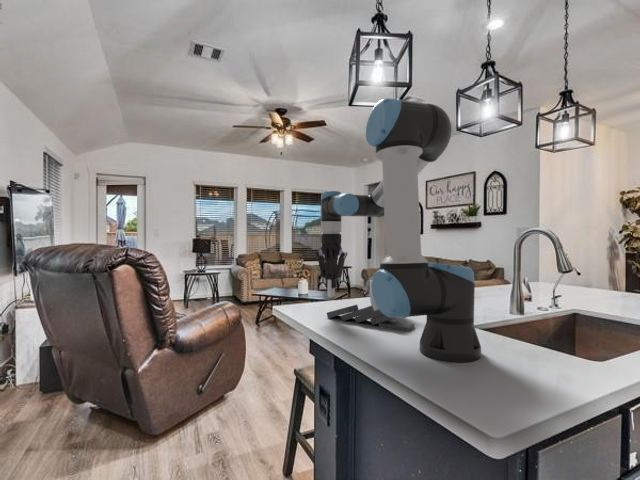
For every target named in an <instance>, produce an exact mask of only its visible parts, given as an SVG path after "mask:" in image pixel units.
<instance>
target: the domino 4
mask: <svg viewBox="0 0 640 480" xmlns="http://www.w3.org/2000/svg"><path fill="white" fill-rule="evenodd" d="M394 319H395V318H391V317H387V316H386V315H384V314H383V315H380V316H377V317H374V318H371V319H369V320H370V323H371V325H372V326H373V325H376V324H379V323H381V322H384V321H388V320H394Z"/></svg>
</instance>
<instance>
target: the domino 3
mask: <svg viewBox="0 0 640 480" xmlns="http://www.w3.org/2000/svg"><path fill="white" fill-rule="evenodd" d="M380 315H383V313H382V312H381V311H380V310H379V309H378V310H375V311H373V312H370V313H367V314H364V315H361V316H357V317H354V320H355V324H358V323H361V322H365V321H367V320H370V319H372V318H374V317H377V316H380Z"/></svg>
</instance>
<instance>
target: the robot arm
mask: <svg viewBox="0 0 640 480" xmlns="http://www.w3.org/2000/svg"><path fill="white" fill-rule="evenodd" d="M451 136H452V123H451V120H450V117H449V116H448V114H447V112H446V111H445V110H444V109H443V108H442V107H440V106H438V105H435V104H432V103H423V102H418V101H411V100H404V99H400V98H388V97H386V98H383V99H380V100H379V101H378V102H377V103H376V104H375V105H374V106H373V108H372V109H371V112H370V113H369V116H368V119H367V122H366V127H365V139H366V141H367V144H368V145H370V146H371V147H374V148H375V157H376V158H377V159H378V160H380V162H381V165H382V169H381V170H382V180H381V181H380V183H379V184H378V185H377V187H376V188H375V189H373V191H372V192H371V193H370V194H368V195H367V194H353V193H349V192H348V193H347V192H346V193H345V192H343V193H342V192H341V191H339V190H326V191H323V192H322V193H321V197H320V198H321V199H320V205H321V206H320V208H321V209H320V213H321V215H320V217H321V219H320V232H321V234H320V243H321V247H320V249H319V250H318V251H316V252H315V255H316V257H317V261H318V265H319V267H318V268H319V271H320V277H321V278H324V279H325V288H326V289H327V293H326V294H327V295H326V296H327V298H333V297H335V296H336V294H335V293H336V288H337V280H338V279H341V278H342V275H343V271H344V265H345V260H346V258H347V256H348V252H345V251H344V250H343V249H342V234H341V232H342V217H367V218H368V217H369V218H370V217H371V218H372V217H373V218H374V217H375V218H382V217H384V220H383V221H384V240H385V241H384V243H385V256H384V258H383V259H382V260H381V261H380V262H379V269H378V270H377V271H375V272H374V274H373V275H372V279H371V280H372V284H371V287H372V294H373V298H374V301H375V303H376V305H377V306H378V308H379V310H380V311H381V312H382V313H383V314H384V315H386V316H387V317H391V318H394V319H397V318H402V319H407V318H410V317H419V316H420V317H421V316H426V321H425V324H424V327H423V330H422V334H421V336H420V339H419V352H421V354H423V355H425V356H427V357H428V358H432V359H436V360H439V361H446V362H453V363H454V362H456V363H468V362H473V361H477V360H479V359H480V358H481V357H482V346H481V343H480V340H479V336H478V333H477V330H476V327H475V291H476V290H475V288H476V287H475V285H476V282H475V273H474V270H473V269H472V268H471V267H468V266H461V265H455V264H446V263H439V262H438V263H437V262H429V260H427V258H425V257H424V255H422V245H421V244H422V243H421V242H422V241H421V239H422V238H421V222H420V221H421V220H420V202H419V201H420V200H419V199H420V198H419V175H420V173H421V172H423V170H424V169H425V168H426V166H428V164H429V163H434V162H436V161H437V160H438V159H439V157H440V156H442V154H443V153H444V152H445V151H446V149H447V148H448V146H449V143H450V140H451Z"/></svg>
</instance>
